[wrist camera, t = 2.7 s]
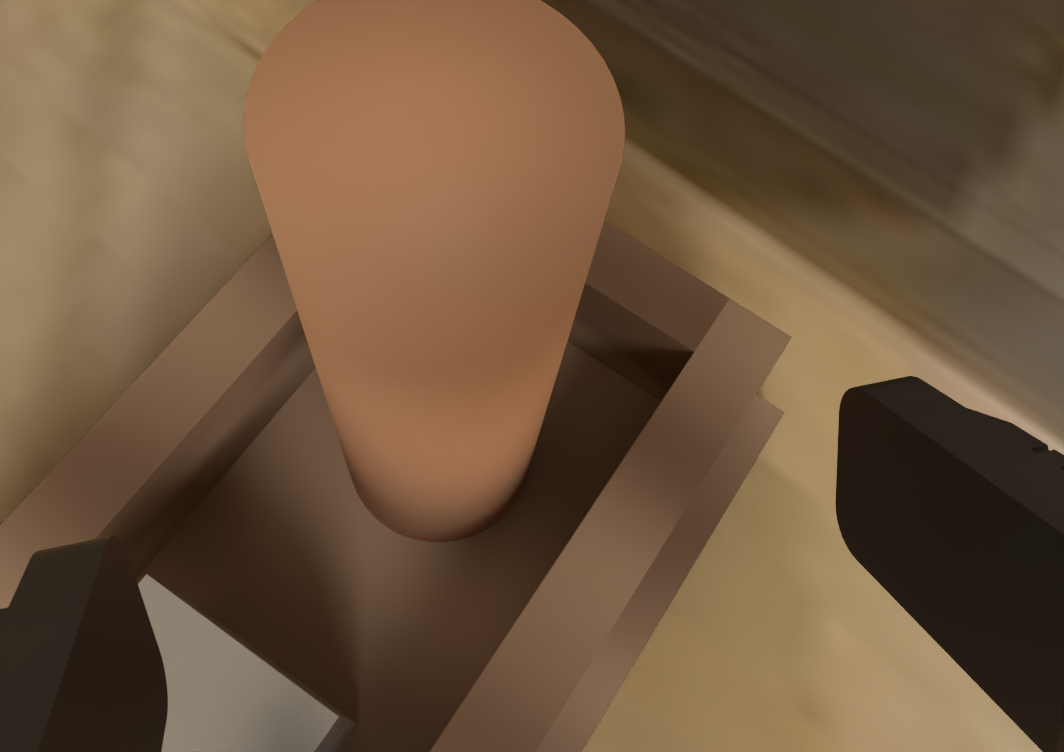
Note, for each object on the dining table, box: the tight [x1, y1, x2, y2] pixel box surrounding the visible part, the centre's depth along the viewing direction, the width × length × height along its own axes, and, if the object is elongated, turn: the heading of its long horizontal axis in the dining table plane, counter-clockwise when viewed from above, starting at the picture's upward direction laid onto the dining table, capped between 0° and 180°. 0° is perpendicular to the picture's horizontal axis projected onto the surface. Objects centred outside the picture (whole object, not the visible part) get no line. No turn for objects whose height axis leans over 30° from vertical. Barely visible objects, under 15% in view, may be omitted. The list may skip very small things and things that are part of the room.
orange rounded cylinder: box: [244, 0, 625, 542], centre depth 15 cm, size 4×4×12 cm
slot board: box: [0, 221, 791, 752], centre depth 18 cm, size 20×12×4 cm, turn 146°
